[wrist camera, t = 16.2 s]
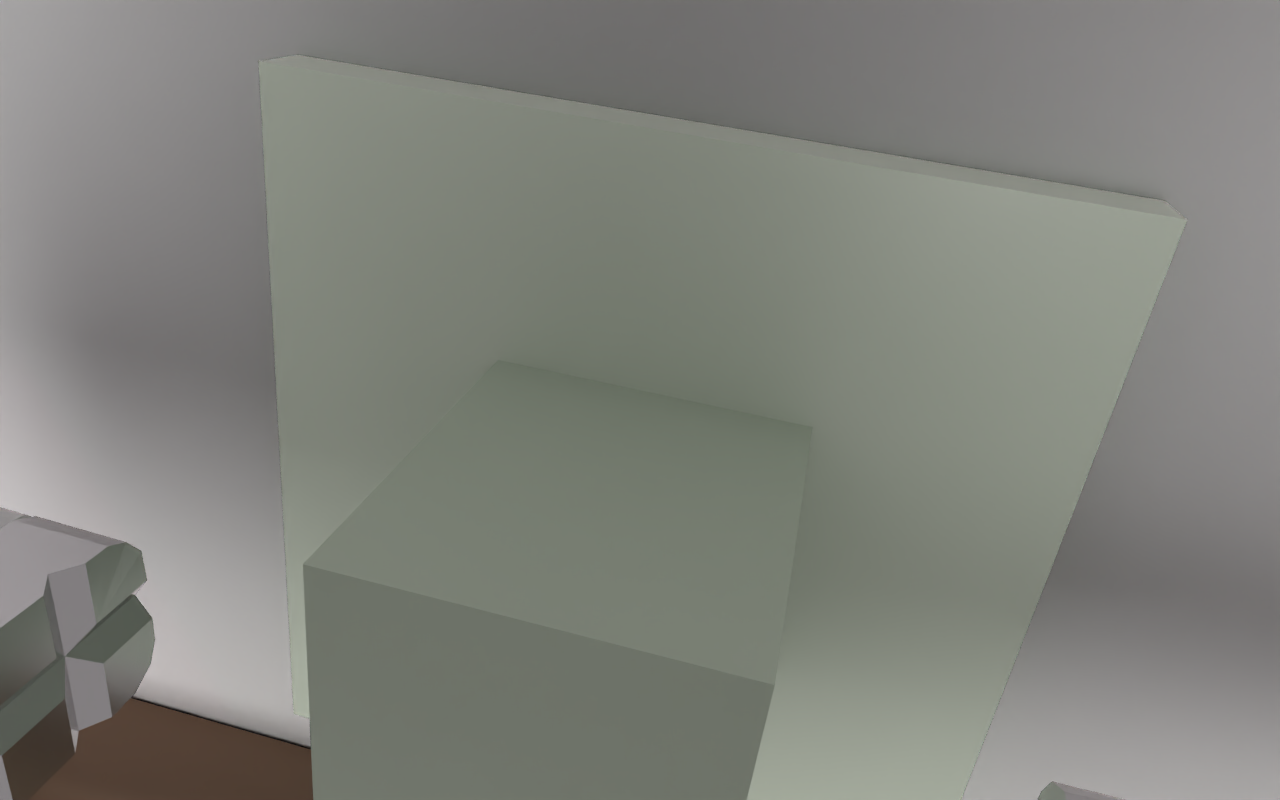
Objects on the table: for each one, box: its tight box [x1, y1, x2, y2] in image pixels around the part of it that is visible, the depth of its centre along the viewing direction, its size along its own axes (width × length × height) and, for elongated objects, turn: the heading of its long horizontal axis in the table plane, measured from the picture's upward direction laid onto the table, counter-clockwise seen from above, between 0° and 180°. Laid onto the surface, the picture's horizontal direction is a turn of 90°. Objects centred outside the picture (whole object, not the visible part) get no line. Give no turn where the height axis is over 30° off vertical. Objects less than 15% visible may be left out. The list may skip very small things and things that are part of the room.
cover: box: [258, 55, 1187, 800], centre depth 10 cm, size 9×9×5 cm
